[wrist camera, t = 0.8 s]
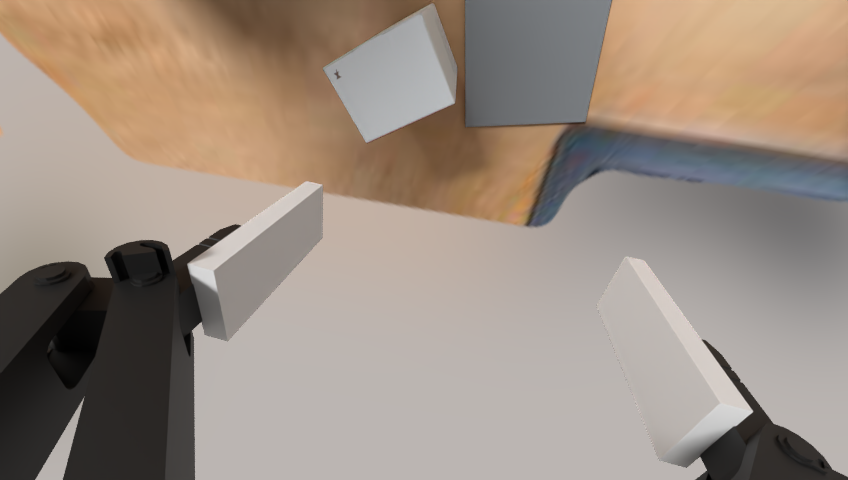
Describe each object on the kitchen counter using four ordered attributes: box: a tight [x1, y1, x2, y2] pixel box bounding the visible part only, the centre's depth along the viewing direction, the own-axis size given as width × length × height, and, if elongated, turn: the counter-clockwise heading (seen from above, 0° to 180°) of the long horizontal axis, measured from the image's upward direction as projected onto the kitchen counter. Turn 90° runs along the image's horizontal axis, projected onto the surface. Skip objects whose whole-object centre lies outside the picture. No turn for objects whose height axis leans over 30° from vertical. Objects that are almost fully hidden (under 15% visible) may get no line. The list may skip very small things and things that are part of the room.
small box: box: [323, 3, 457, 143], centre depth 29 cm, size 8×6×13 cm
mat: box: [465, 0, 612, 127], centre depth 33 cm, size 15×13×1 cm
